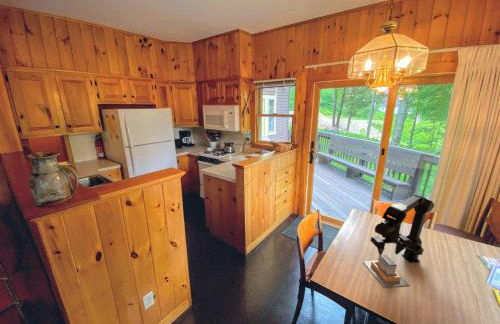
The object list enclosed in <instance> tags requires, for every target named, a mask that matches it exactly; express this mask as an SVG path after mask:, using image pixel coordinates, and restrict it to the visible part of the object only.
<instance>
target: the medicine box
mask: <svg viewBox="0 0 500 324" xmlns="http://www.w3.org/2000/svg"><path fill="white" fill-rule="evenodd" d="M378 255H379V254H378ZM377 260H378V264H377V266H378V267H379V269H380V270H381V271H382V272H383V273H384V274H385V275H386V277H389V276H394V275H395V270H396V269H397V264H396V263H395V261H393V260H392V258H390V257H389V256H388V255H387V254H382V255H381V256H380V255H379V256H378V259H377ZM396 271H397V270H396Z"/></svg>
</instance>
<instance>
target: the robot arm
mask: <svg viewBox="0 0 500 324" xmlns="http://www.w3.org/2000/svg"><path fill="white" fill-rule="evenodd" d="M434 208H435V203H434V202H433V200H430V199H428V198H426V197H424V196H423V195H421V194H420V195H419V194H418V193H413V194H411V196H409V197H407V198H406V199H405V200H403V201H402V202H401V203H393V204H391V205H390V206H388V207H387V208H386V210H385V212H383V215H382V217H381V219H384V220H383V221H380V223H378V224H376V226H374V227H375V228H374V232H375V233H376V234H379V235H380V236H381V237H382V238H383V239H382V238H381V237H380V236H371V237H370V242H371V243H372V244H373V245H374V246H375V247H376V248H377V253H378V255H380V256H381V255H383V253H384V252H385V246H386V244H387V245H388V244H395V250H394V253H395V255H398V254H400V253H401V252H402V251H404V252H403V253H402V254H401V256H402V257H403V258H404V259H405V260H406V261H407V262H409V263H410V264H411V263H420V262H421V261H420V259H419V256H423V254H424V251H425V249H424V247H422V243H423V241H422V240H421V233H422V230H423V227H424V224H425V219H426V216H427V215H428V214H429V213H431V211H432V210H433V209H434ZM412 210H414V212H415V213H414V216H413V219H412V223H411V227H410V230H409V234H408V235H404V234H402V233H400V231H401V227H402V223H403V222H404V220H405V219H406V218H407V213H408V212H410V211H412Z"/></svg>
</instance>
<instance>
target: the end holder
mask: <svg viewBox="0 0 500 324" xmlns="http://www.w3.org/2000/svg"><path fill="white" fill-rule="evenodd" d="M362 263H363V264H364V265H365V266H366V268H367V269H368V270H369V271H370V273H371V274H372V275H373V276H374V278H375V279H376V280H377V281H378V283H379V284H381V286H382V287H383V288H384V289H385V288H397V287H398V288H401V287H409V286H411V285H410V283H408V281H406V279H405V278H404V277H403V276H402V275H401V274H400V273H399V272H398V271H397V270H395V275H394V276H389V277H386V275H385V274H384V273H383V272H382V271H381V270H380V269H379V267H378V266H377V264H378V259H377V260H364V261H362Z"/></svg>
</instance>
